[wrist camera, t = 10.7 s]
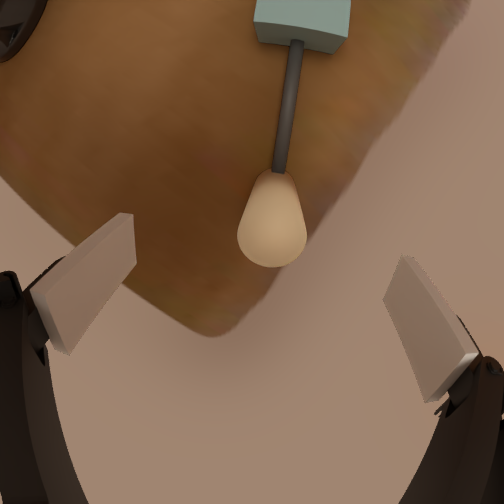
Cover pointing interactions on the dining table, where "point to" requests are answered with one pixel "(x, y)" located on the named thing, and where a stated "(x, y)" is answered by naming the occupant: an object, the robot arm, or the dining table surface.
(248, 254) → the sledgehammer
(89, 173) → the dining table surface
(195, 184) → the dining table surface
